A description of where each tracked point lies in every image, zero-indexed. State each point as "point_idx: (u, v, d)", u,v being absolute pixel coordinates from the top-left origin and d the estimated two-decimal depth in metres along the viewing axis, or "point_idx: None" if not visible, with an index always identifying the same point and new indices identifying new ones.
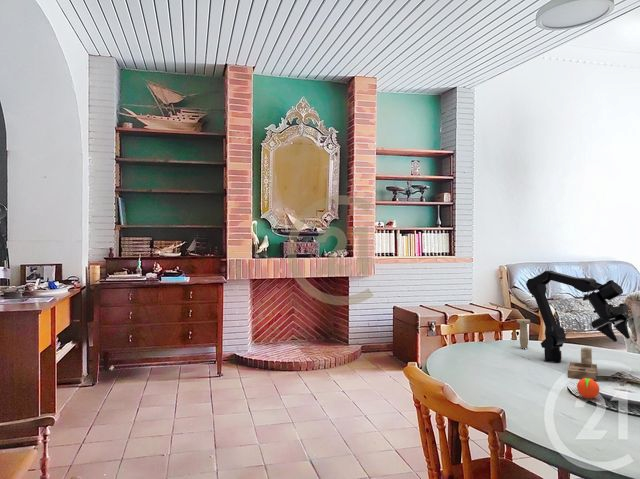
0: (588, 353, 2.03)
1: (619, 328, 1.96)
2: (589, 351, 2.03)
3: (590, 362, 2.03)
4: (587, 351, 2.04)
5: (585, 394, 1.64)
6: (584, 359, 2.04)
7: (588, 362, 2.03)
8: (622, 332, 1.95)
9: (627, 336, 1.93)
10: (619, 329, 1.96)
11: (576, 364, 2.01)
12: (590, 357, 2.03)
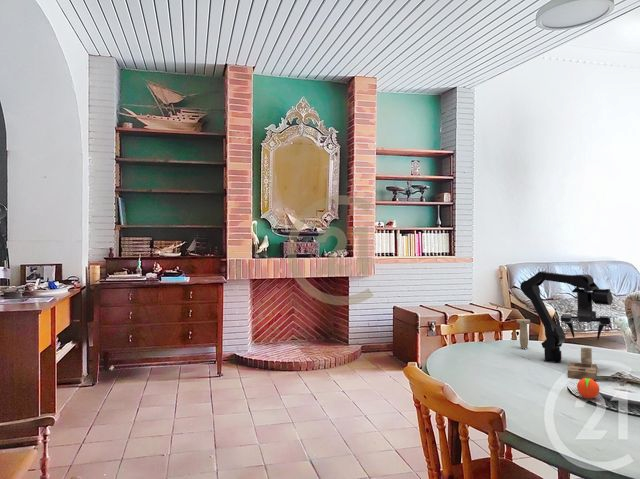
0: (588, 353, 2.03)
1: None
2: (589, 351, 2.03)
3: (590, 362, 2.03)
4: (587, 351, 2.04)
5: (585, 394, 1.64)
6: (584, 359, 2.04)
7: (588, 362, 2.03)
8: None
9: (597, 337, 2.03)
10: None
11: (576, 364, 2.01)
12: (590, 357, 2.03)
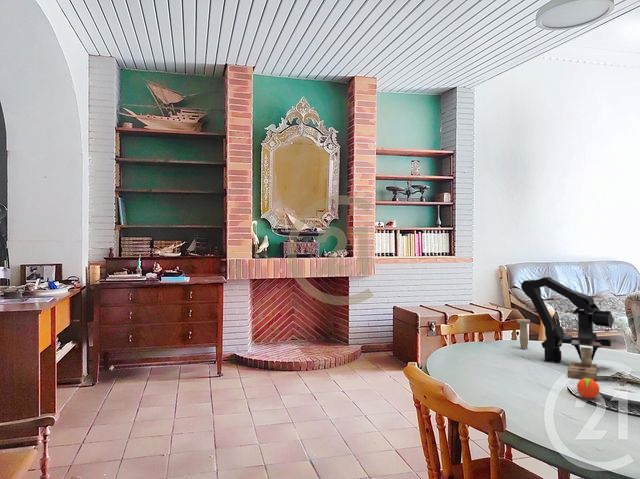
0: (588, 353, 2.03)
1: None
2: (589, 351, 2.03)
3: (590, 362, 2.03)
4: (587, 351, 2.04)
5: (585, 394, 1.64)
6: (584, 359, 2.04)
7: (588, 362, 2.03)
8: None
9: None
10: None
11: (576, 364, 2.01)
12: (590, 357, 2.03)
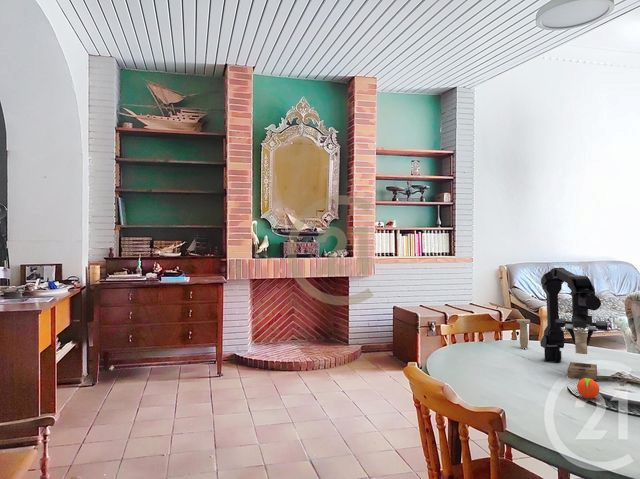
0: (583, 338, 1.89)
1: None
2: (584, 335, 1.88)
3: (585, 347, 1.88)
4: (582, 335, 1.89)
5: (585, 394, 1.64)
6: (578, 344, 1.89)
7: (583, 348, 1.89)
8: None
9: None
10: None
11: (576, 364, 2.01)
12: (585, 342, 1.88)
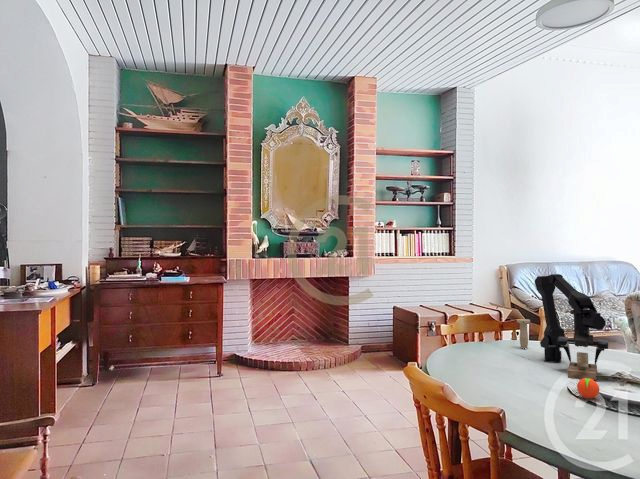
0: (584, 358, 1.95)
1: None
2: (585, 356, 1.95)
3: None
4: (583, 356, 1.95)
5: (585, 394, 1.64)
6: (580, 364, 1.96)
7: None
8: None
9: None
10: None
11: (576, 364, 2.01)
12: (586, 362, 1.95)
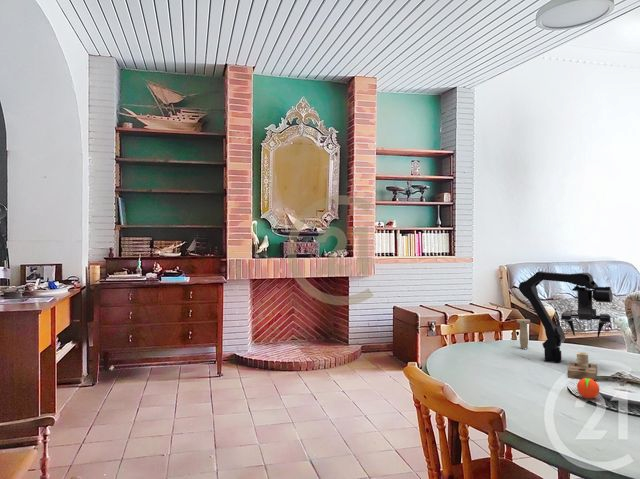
0: (584, 358, 1.95)
1: None
2: (585, 356, 1.95)
3: None
4: (583, 356, 1.95)
5: (585, 394, 1.64)
6: (580, 365, 1.96)
7: None
8: None
9: None
10: None
11: (576, 364, 2.01)
12: (586, 362, 1.95)
